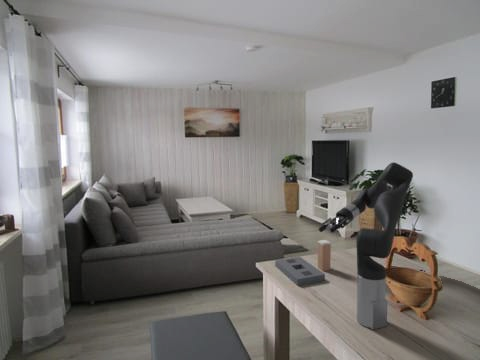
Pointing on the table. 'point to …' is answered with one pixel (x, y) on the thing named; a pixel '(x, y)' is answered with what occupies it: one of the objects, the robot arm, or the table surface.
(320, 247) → the plug
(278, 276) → the table surface
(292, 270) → the grey flat rectangular block
